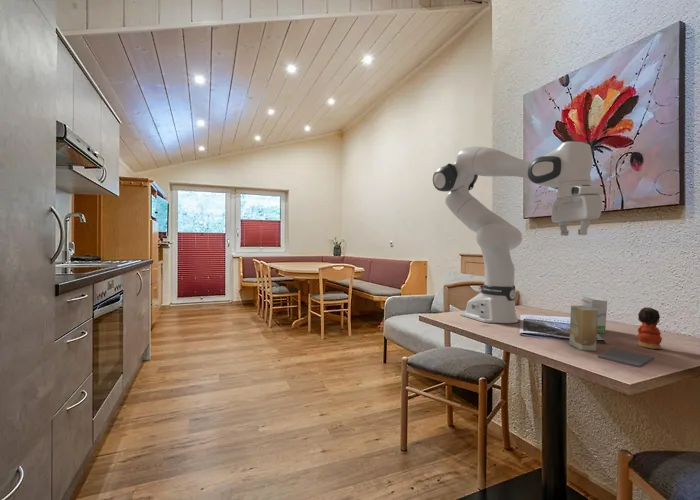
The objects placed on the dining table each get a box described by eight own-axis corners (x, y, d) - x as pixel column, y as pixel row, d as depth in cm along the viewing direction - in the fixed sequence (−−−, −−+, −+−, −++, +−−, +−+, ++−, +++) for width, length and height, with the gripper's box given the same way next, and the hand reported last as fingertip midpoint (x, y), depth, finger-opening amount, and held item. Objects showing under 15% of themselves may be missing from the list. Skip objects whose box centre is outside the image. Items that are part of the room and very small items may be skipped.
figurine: (666, 351, 98) (668, 310, 98) (643, 349, 100) (644, 309, 100) (655, 345, 104) (656, 306, 104) (633, 343, 106) (634, 305, 106)
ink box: (578, 326, 126) (579, 295, 126) (594, 327, 125) (595, 296, 125) (590, 332, 118) (591, 299, 118) (607, 333, 117) (607, 300, 117)
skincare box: (568, 344, 105) (569, 305, 104) (582, 344, 104) (583, 305, 104) (582, 351, 98) (583, 309, 98) (597, 351, 98) (598, 309, 98)
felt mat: (597, 357, 93) (597, 355, 93) (614, 349, 100) (614, 348, 100) (638, 367, 86) (638, 365, 86) (654, 358, 92) (654, 356, 92)
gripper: (546, 196, 118) (545, 235, 118) (584, 186, 97) (582, 234, 98) (565, 196, 117) (564, 236, 118) (606, 187, 97) (605, 234, 97)
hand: (573, 235), depth 108 cm, fingers open, 8 cm apart
